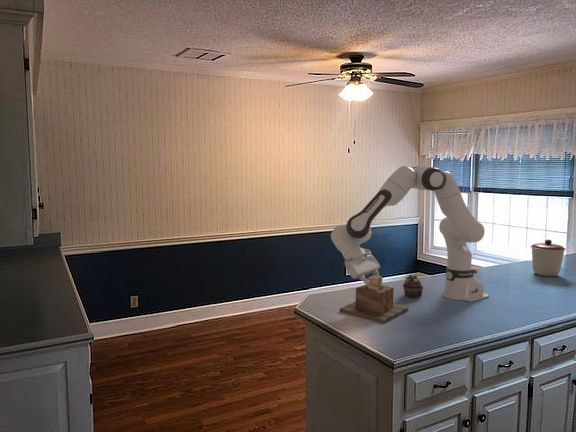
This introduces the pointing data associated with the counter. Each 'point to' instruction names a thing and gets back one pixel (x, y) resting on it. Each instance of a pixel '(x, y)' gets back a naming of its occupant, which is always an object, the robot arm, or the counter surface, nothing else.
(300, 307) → the counter surface
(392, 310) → the post block
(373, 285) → the rail end
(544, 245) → the canister
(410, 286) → the cupcake
